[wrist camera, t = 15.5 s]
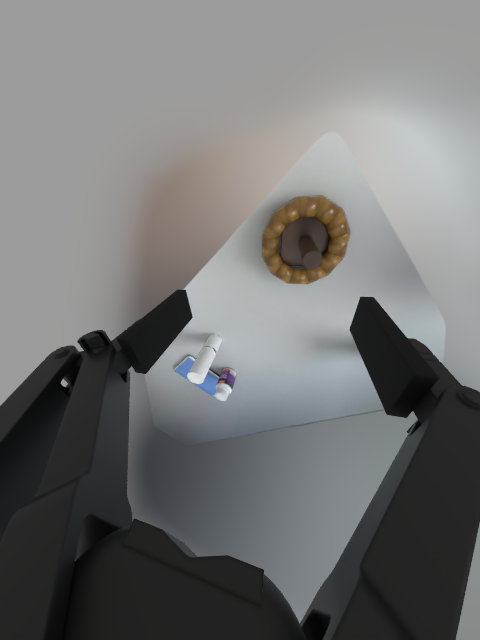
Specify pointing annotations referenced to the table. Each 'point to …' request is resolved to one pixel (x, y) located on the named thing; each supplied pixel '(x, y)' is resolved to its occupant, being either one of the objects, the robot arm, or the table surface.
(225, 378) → the pill bottle
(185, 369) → the tablet
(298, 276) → the ring
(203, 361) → the tube
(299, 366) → the table surface
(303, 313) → the table surface
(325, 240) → the post
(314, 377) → the table surface
